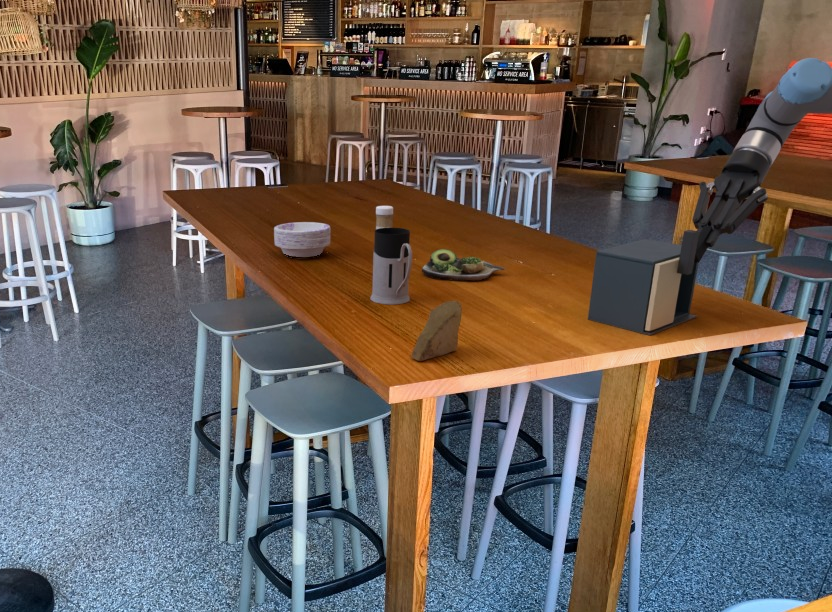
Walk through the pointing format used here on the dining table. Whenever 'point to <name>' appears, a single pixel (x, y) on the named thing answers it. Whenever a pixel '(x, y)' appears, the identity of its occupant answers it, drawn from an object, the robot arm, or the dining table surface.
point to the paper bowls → (302, 238)
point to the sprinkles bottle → (384, 217)
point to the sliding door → (670, 283)
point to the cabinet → (635, 285)
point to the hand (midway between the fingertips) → (693, 257)
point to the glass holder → (391, 266)
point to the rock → (439, 332)
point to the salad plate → (457, 267)
